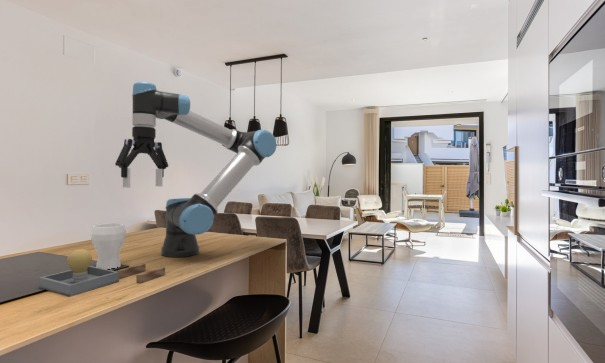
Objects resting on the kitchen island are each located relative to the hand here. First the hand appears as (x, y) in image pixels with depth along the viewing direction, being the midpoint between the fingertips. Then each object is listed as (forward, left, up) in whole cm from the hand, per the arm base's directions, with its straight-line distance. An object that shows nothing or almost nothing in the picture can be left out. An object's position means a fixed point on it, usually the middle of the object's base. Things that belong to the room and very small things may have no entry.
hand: (143, 187), depth 122 cm
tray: (+22, 0, -29) cm, 36 cm away
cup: (+6, -10, -29) cm, 31 cm away
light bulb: (+22, 0, -28) cm, 36 cm away
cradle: (+8, +9, -29) cm, 31 cm away
